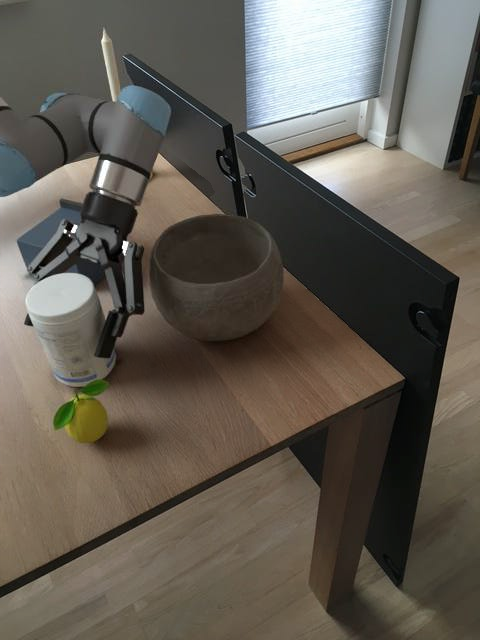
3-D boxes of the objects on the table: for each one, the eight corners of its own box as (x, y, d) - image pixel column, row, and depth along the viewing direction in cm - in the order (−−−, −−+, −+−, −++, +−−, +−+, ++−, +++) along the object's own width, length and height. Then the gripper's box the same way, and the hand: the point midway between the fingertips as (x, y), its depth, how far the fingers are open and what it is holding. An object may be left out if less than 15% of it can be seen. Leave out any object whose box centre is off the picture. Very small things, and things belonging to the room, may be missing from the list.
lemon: (118, 415, 75) (103, 366, 69) (116, 450, 71) (100, 401, 64) (70, 421, 75) (50, 372, 68) (65, 456, 71) (43, 408, 64)
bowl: (178, 380, 80) (164, 303, 70) (144, 298, 94) (128, 225, 84) (304, 340, 85) (308, 263, 75) (253, 269, 100) (251, 196, 90)
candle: (155, 183, 126) (131, 30, 104) (112, 189, 125) (78, 35, 103) (150, 164, 133) (126, 18, 112) (109, 170, 132) (77, 23, 110)
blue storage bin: (29, 275, 101) (13, 232, 94) (73, 240, 109) (61, 198, 103) (84, 293, 96) (71, 248, 90) (126, 254, 105) (117, 211, 98)
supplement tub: (87, 336, 88) (64, 263, 78) (130, 359, 83) (110, 284, 74) (40, 373, 82) (8, 299, 72) (83, 400, 78) (55, 325, 68)
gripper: (199, 228, 75) (149, 372, 75) (67, 189, 85) (24, 316, 85) (171, 212, 68) (117, 371, 68) (32, 172, 78) (-15, 310, 78)
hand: (65, 341), depth 77 cm, fingers open, 13 cm apart
